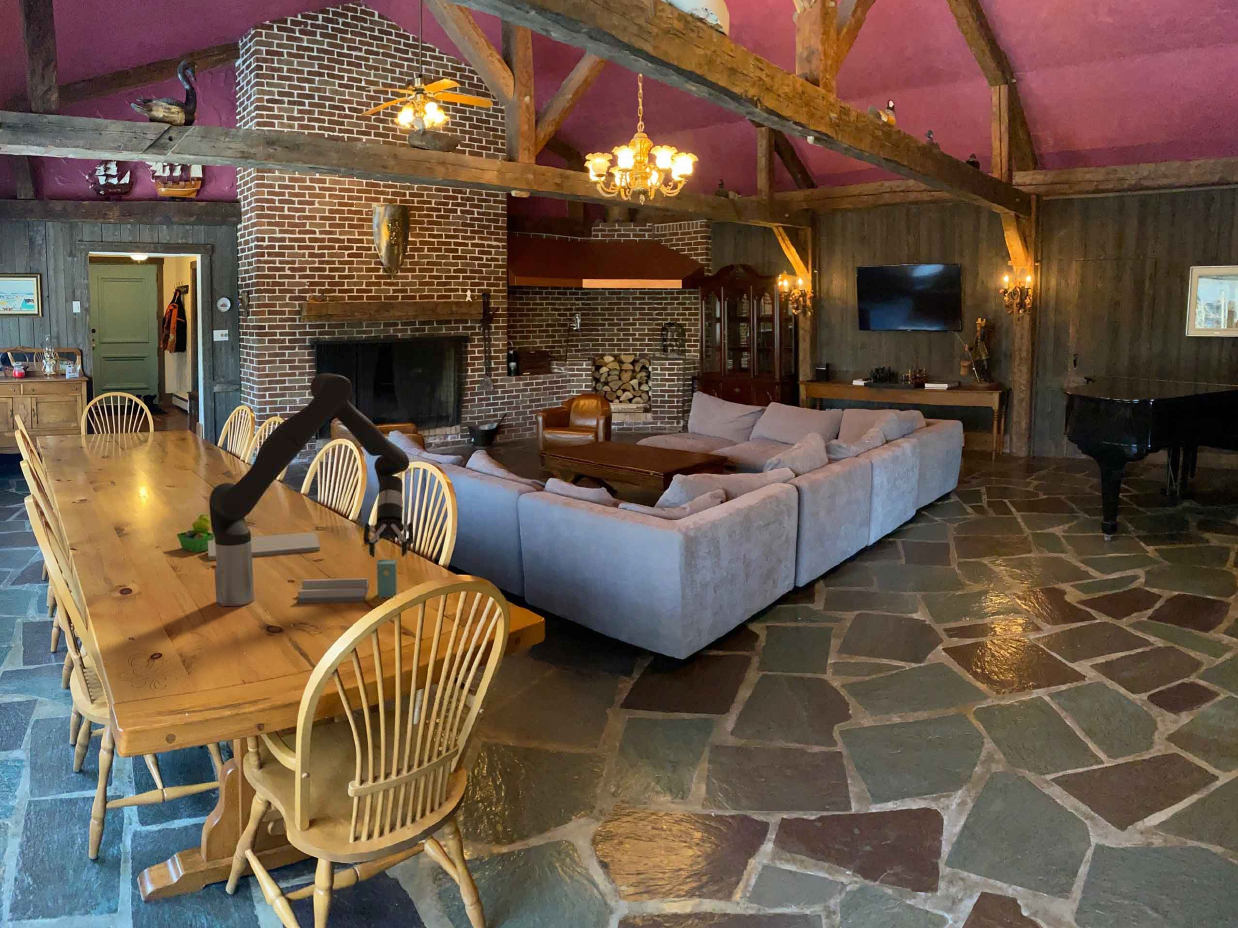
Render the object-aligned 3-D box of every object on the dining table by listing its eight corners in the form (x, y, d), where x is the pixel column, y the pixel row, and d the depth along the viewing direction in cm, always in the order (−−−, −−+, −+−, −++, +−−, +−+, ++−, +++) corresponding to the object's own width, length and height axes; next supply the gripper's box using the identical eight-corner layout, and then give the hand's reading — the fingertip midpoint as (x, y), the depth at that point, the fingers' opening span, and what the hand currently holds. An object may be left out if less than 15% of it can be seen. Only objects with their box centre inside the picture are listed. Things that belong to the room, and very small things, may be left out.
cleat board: (297, 603, 262) (297, 589, 261) (305, 589, 275) (304, 575, 274) (364, 601, 265) (363, 587, 264) (368, 587, 278) (368, 574, 277)
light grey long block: (319, 558, 316) (316, 544, 325) (319, 546, 314) (316, 532, 323) (209, 568, 303) (208, 553, 311) (208, 556, 301) (207, 540, 309)
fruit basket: (176, 548, 315) (174, 515, 313) (200, 543, 322) (198, 511, 320) (195, 554, 308) (193, 520, 306) (220, 548, 315) (218, 516, 313)
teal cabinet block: (377, 599, 267) (376, 565, 265) (379, 592, 273) (378, 559, 271) (395, 598, 268) (394, 564, 266) (396, 592, 273) (396, 559, 272)
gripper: (364, 502, 279) (361, 549, 270) (413, 501, 281) (412, 548, 272) (366, 515, 285) (363, 562, 276) (414, 514, 287) (413, 561, 278)
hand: (388, 555), depth 274 cm, fingers open, 8 cm apart
